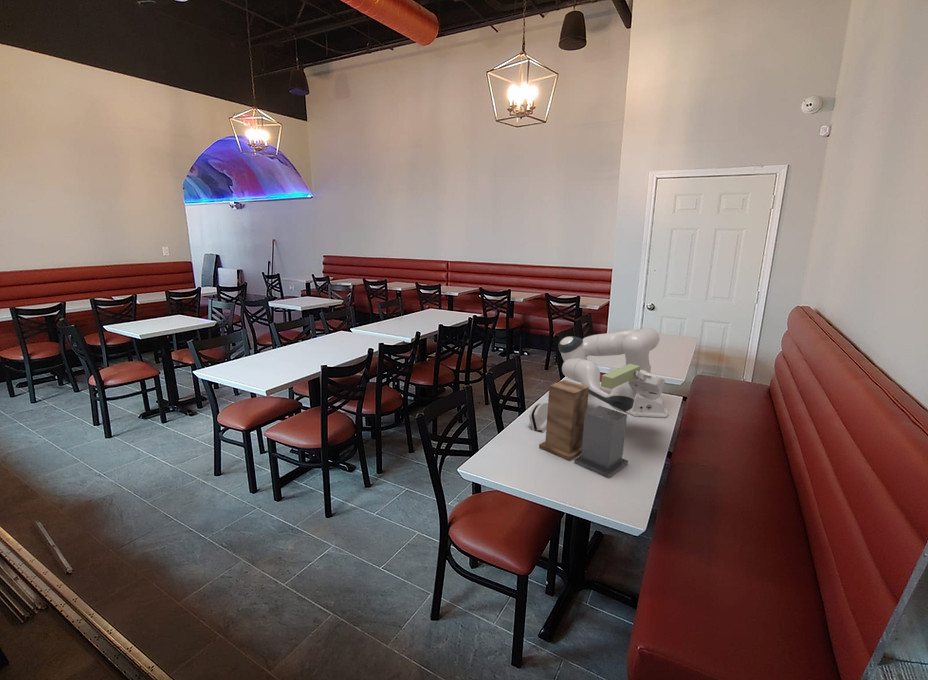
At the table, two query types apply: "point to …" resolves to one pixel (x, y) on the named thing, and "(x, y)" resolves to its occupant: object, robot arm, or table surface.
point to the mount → (603, 441)
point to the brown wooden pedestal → (565, 419)
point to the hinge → (539, 417)
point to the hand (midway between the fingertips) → (628, 371)
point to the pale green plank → (619, 376)
